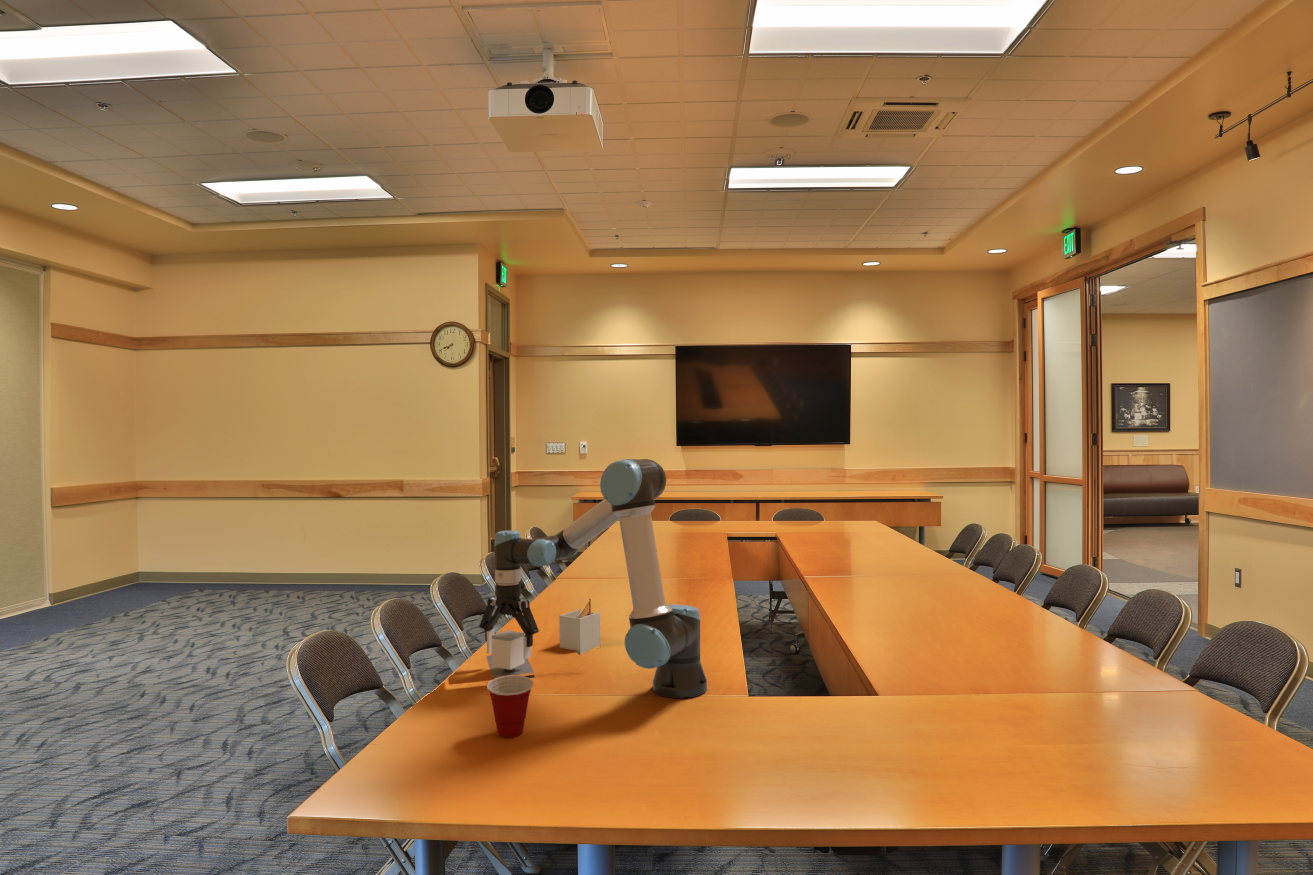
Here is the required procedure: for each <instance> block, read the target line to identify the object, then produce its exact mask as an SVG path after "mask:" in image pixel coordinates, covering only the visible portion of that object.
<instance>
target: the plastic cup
mask: <svg viewBox="0 0 1313 875" xmlns="http://www.w3.org/2000/svg"><path fill="white" fill-rule="evenodd" d="M524 676H525V675H519V674H516V675H507V676H498V677H494V678H493V680H492V679H491V680H490V681H489V682H488V683H487V684H486V687H487V691H488V692H489V696H490V699H491V704H492V709H493V710H492V711H493V716H494V722H495V724H496V725H495V726H496V732H497V735H498V737H500V738H502V739H511V738H512V739H513V738H516V737H519V736H521V735H522V734H523V731H524V729H525V728H524V727H525V721H526V716H527V710H528V706H529V705H528V704H529V700H530V699H529V698H530V694H531V690H532V688H533V687H534V680H532V678H528V677H524Z"/></svg>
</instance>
